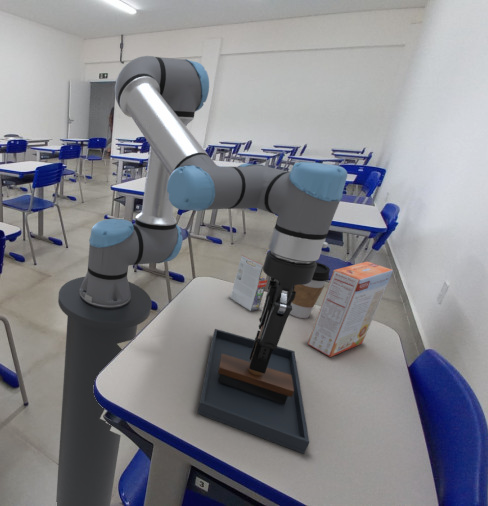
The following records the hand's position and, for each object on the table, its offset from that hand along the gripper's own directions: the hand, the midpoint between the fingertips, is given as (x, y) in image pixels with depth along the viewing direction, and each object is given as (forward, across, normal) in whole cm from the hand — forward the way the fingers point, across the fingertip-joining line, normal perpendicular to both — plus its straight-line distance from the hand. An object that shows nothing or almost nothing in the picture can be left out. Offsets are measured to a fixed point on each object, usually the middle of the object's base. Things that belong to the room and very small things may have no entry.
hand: (257, 365), depth 70 cm
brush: (+6, 0, 0) cm, 6 cm away
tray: (+7, +2, 0) cm, 7 cm away
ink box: (+7, +39, +2) cm, 40 cm away
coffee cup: (+7, +42, -12) cm, 44 cm away
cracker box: (+7, +29, -19) cm, 35 cm away
